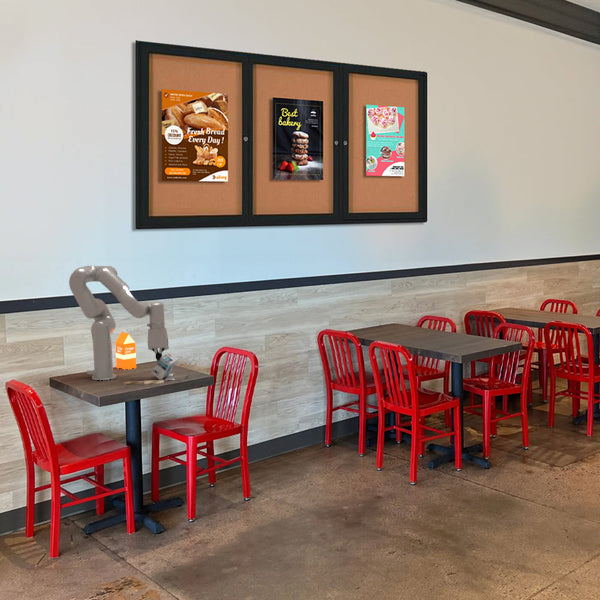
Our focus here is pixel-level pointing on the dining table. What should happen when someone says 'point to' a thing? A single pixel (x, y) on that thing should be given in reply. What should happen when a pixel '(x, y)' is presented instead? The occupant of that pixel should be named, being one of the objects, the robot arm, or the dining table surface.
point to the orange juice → (125, 352)
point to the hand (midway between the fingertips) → (159, 360)
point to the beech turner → (145, 382)
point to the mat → (170, 377)
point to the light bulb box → (164, 366)
